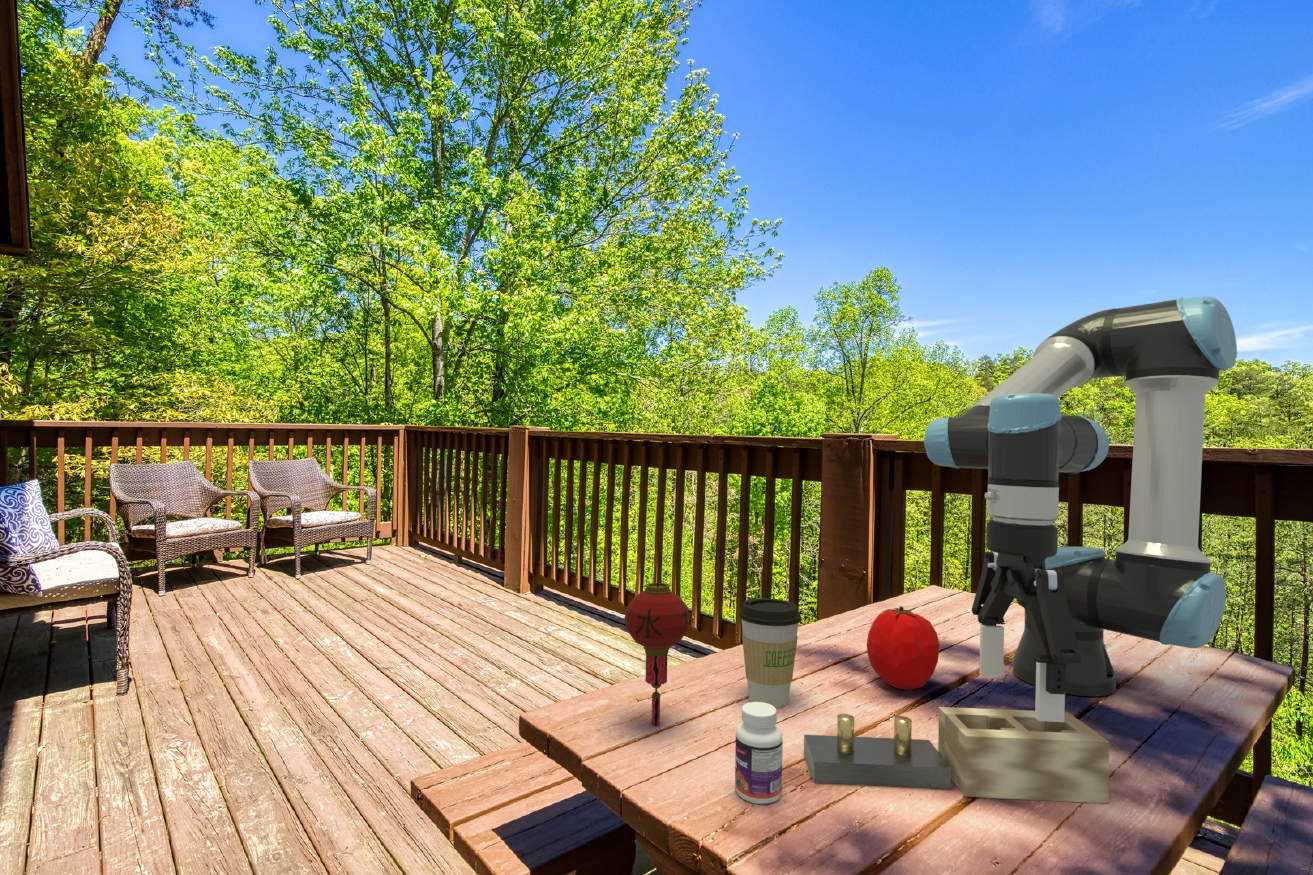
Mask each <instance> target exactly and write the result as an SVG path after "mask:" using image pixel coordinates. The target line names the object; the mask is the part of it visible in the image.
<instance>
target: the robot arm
mask: <svg viewBox="0 0 1313 875" xmlns="http://www.w3.org/2000/svg"><path fill="white" fill-rule="evenodd" d="M1237 345H1238V344H1237V339H1236V333H1235V329H1234V324H1233V321H1232V319H1231V316H1230V314H1229V311H1228V310H1227V309H1226V307H1225V305H1224V304H1223V303H1222V302H1221V301H1220V300H1219V299H1217V298H1215V297H1212V296H1198V297H1197V296H1196V297H1187V298H1186V297H1185V298H1184V297H1178V298H1176V299H1173V300H1172V299H1171V300H1164V301H1159V302H1158V301H1157V302H1153V303H1145V304H1139V305H1131V306H1125V307H1124V306H1123V307H1119V308H1108V309H1104V310H1100V311H1096V312H1094V313H1091V314H1089V315H1087V316H1084V317H1082V318H1079V319H1077V320H1075V321H1073V322H1072V323H1070V324H1067V325H1066V326H1064V327H1062V328H1061V329H1059V330H1057V331H1056V332H1054V333H1052V334H1051V335H1049V337H1047V338H1046V339H1044V340H1043V341H1041V343H1040V344H1039V345H1038V346H1036V348H1035V350H1034V352H1033V355H1032V358H1030V359H1029V360H1028V361H1027V362H1025V363H1024V364H1023V365H1021V366H1020V367H1019V368H1018V369H1017V370H1016V371H1014V372H1013V373H1011V374H1010V375H1009V376H1008V377H1007V378H1005V379H1004V380H1002V382H1000V383H999V384H998V385H997V386H996V387H995V388H993V389H992V390H990V391H989V392H988V393H987V394H986V395H984V397H982V398H980V399H979V401H977V402H976V403H974V404H973V405H971V407H970V408H968V409H967V411H964V412H963V413H962V414H961V415H959V416H957V417H956V416H955V417H953V416H949V415H948V416H947V417H940V418H939V417H938V418H935V419H934V420H932V421H931V422H930V423H929V424H928V426H927V428H926V429H925V432H924V440H923V442H924V443H923V444H924V449H925V452H926V455H927V458H928V459H929V460H930V462H932V463H933V464H934V465H937V466H940V467H949V468H954V469H961V468H962V469H984V470H985V469H986V470H987V472H988V475H987V492H984V498H985V500H987V502H986V503H987V508H986V510H987V512H986V513H987V515H988V516H990V517H992V519H989V520H988V521H987V522H986V531H985V532H986V533H985V534H986V535H985V536H986V538H985V542H986V543H985V546H986V549H988V550H989V551H985V552H984V555H983V565H982V570H981V574H980V577H979V581H978V585H977V589H976V592H975V594H974V595H975V596H974V600H973V602H972V607H971V614H972V615H974V616H977V621H978V623H979V624H980V626H979V627H980V628H979V630H980V633H979V669H978V670H979V676H981V677H991V678H992V677H993V678H1004V657H1005V656H1004V654H1005V653H1004V651H1005V650H1004V649H1005V647H1004V646H1005V626H1002V625H1006V621H1005V619H1004V616H1005V615H1006V613H1007V612H1008V610H1009V609H1010V606H1011V604H1012V603H1013V601H1014V599H1015V600H1016V601H1017V604H1018V605H1019V606H1021V607H1022V608H1023V609H1024V629H1023V632H1022V635H1021V638H1020V640H1019V643H1018V645H1017V648H1016V650H1015V653H1014V655H1013V657H1012V672H1013V674H1014V676H1015V677H1016V678H1018V679H1020V680H1022V681H1023V682H1025V683H1028V684H1030V685H1033V686H1035V705H1034V706H1035V707H1034V708H1035V710H1034V711H1035V718H1036V719H1037V720H1038V721H1049V722H1064V712H1065V704H1066V703H1065V702H1066V701H1065V700H1066V695H1071V696H1072V695H1073V696H1079V697H1081V696H1082V697H1105V696H1109V695H1112V694H1115V692H1116V691H1117V688H1116V687H1117V678H1116V673H1115V671H1114V668H1113V665H1112V662H1111V659H1110V656H1109V652H1108V651H1107V648H1106V645H1105V642H1104V632H1105V631H1110V632H1114V633H1118V634H1122V635H1127V636H1132V637H1136V638H1139V639H1145V640H1148V641H1153V642H1158V643H1160V644H1161V645H1164V646H1167V645H1168V646H1169V645H1171V646H1176V647H1181V648H1186V649H1187V648H1188V649H1199V648H1202V647H1204V646H1206V645H1208V644H1209V642H1210V641H1211V640H1213V638H1214V636H1215V634H1216V632H1217V631H1218V629H1219V627H1220V624H1221V622H1222V619H1223V616H1224V612H1225V606H1226V603H1227V602H1226V601H1227V590H1226V586H1227V585H1226V581H1225V579H1224V578H1223V576H1221V575H1219V574H1217V573H1216V572H1211V560H1210V558H1208V557H1207V556H1206V555H1205V554H1204V553H1203V552H1202V551H1201V550H1200V548H1199V532H1200V531H1199V530H1200V510H1201V508H1200V507H1201V492H1202V491H1201V489H1202V488H1201V487H1202V469H1203V468H1202V466H1203V465H1202V464H1203V448H1204V446H1203V445H1204V426H1205V423H1204V422H1205V406H1206V395H1207V394H1208V392H1209V391H1210V390H1211V391H1212V389H1213V388H1215V387H1216V386H1218V385H1219V383H1220V371H1222V372H1226V371H1228V370H1230V369H1233V367H1234V366H1235V365H1236V359H1237V357H1238V346H1237ZM1112 377H1113V378H1115V377H1117V378H1118V377H1119V378H1120V377H1125V384H1124V385H1125V386H1126V387H1127V388H1128V389H1130V391H1132V392H1133V393H1134V394H1135V407H1134V408H1135V412H1134V428H1133V429H1134V430H1133V447H1132V448H1133V449H1132V465H1131V484H1130V485H1131V486H1130V500H1129V502H1130V504H1129V505H1130V506H1129V517H1128V518H1129V519H1128V520H1129V523H1128V537H1127V538H1128V539H1127V540H1126V542H1125V543H1123V544H1121V545H1120V546H1119V547H1117V548H1116V551H1115V559H1112V558H1111V559H1110V558H1106V557H1107V554H1106V552H1105V550H1104V549H1103V548H1101V547H1093V546H1058V545H1059V544H1058V543H1059V542H1058V541H1059V540H1058V539H1059V538H1058V537H1059V533H1058V532H1059V529H1058V527H1057V526H1056V525H1055V524H1053V522H1054V521H1055V522H1056V521H1057V520H1059V501H1060V500H1059V496H1060V494H1059V493H1060V492H1059V491H1060V487H1059V478H1060V477H1059V475H1060V473H1065V474H1068V473H1071V474H1079V473H1080V472H1086V471H1087V472H1088V471H1090V470H1093V469H1095V468H1097V467H1098V466H1099V465H1100V464H1101V463H1103V461H1104V460H1105V459H1106V457H1107V455H1108V452H1109V448H1110V441H1109V436H1108V434H1107V431H1106V430H1105V429H1104V428H1103V426H1102V425H1101V424H1100V423H1098V422H1096V421H1094V420H1093V419H1091V418H1088V417H1085V416H1081V415H1080V414H1073V415H1070V414H1063V413H1062V411H1061V401H1060V400H1059V399H1060V397H1061V396H1063V395H1064V394H1065V393H1067V391H1068V390H1069V389H1075V388H1078V387H1080V386H1082V385H1083V384H1085V383H1087V382H1088V381H1089V380H1094V379H1102V378H1112Z"/></svg>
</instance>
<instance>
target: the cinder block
mask: <svg viewBox="0 0 1313 875" xmlns="http://www.w3.org/2000/svg"><path fill="white" fill-rule="evenodd" d="M937 738H938V740H937V741H938V744H937V748H938V749H937V751H938V752H939V753H940V754H941V756H942V757H943V758H944V759H945V761H946V762H947V763H948V765H949V766H950V767H951V781H952V782H953V783H954V784H955V785H956V787H957V788H958V789H959V791H960V793H962V795H963V797H967V798H982V799H983V798H987V799H1008V800H1027V801H1048V802H1051V801H1053V802H1070V803H1071V802H1073V803H1088V804H1089V803H1091V804H1092V803H1093V804H1109V796H1110V794H1109V793H1110V792H1109V791H1110V790H1109V789H1110V787H1109V786H1110V741H1108V739H1105V737H1103V736H1102V735H1101V734H1099V733H1098V732H1096V731H1095V730H1093V729H1092V728H1090V727H1089V726H1088V725H1087V724H1085V723H1083V722H1082V721H1081V720H1080V719H1078V717H1077V718H1076V717H1075V716H1074V715H1072V714H1071V713H1070V712H1068V711H1064V722H1049V721H1038V720H1037V719H1036V718H1035V710H1027V709H1021V710H1020V709H1000V708H999V709H997V708H975V707H974V708H973V707H972V708H971V707H950V706H949V707H948V706H947V707H946V706H939V707H938V737H937Z"/></svg>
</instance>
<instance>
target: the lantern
mask: <svg viewBox="0 0 1313 875" xmlns="http://www.w3.org/2000/svg"><path fill="white" fill-rule="evenodd" d="M660 517H661V515H659V514H658V515H657V550H656V551H657V552H656V553H657V554H656V557H657V560H656V582H649V583H646V584H645V588H644V590H643V591H641V592H640V593H638V594H636V595H635V596H634V597H633V599H632V600H631V601H630V603H629V604H628V605H627V606H626V610H625V614H624V623H625V624H624V625H625V628H626V631H627V633H628V634H629V635H630V637H631V638H632V639H633V641H634V642H635V643H636V644H638V645H640V646H642V647H643V649H644V653H645V682H646V683H647V684H649V685H650V686H651V687H652V688H654V689H655V691H654V692H652V694H651V725H652V726H654V727H658V726H660V725H661V724H660V722H661V694H660V692H659V691H658V689H659V688H661V687H662V685H665V684H667V682H668V654H669V650H671V649H670V648H671V647H673V646H675V645H677V644H678V643H680V642H681V641H682V639H683V638H684V637H685V635H686V634H687V631H688V628H689V624H690V620H691V619H690V618H691V617H690V611H689V606H687V604H686V602H685V601H684V600H683V599H682V597H681V596H680V595H678V594H677V593H676V592H673V591H672V590H671V588H670V584H668V583H665V582H659V580H660V579H659V578H660V533H661V532H660V531H661V530H660V525H661V524H660V522H661V521H660V519H661V518H660Z"/></svg>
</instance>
